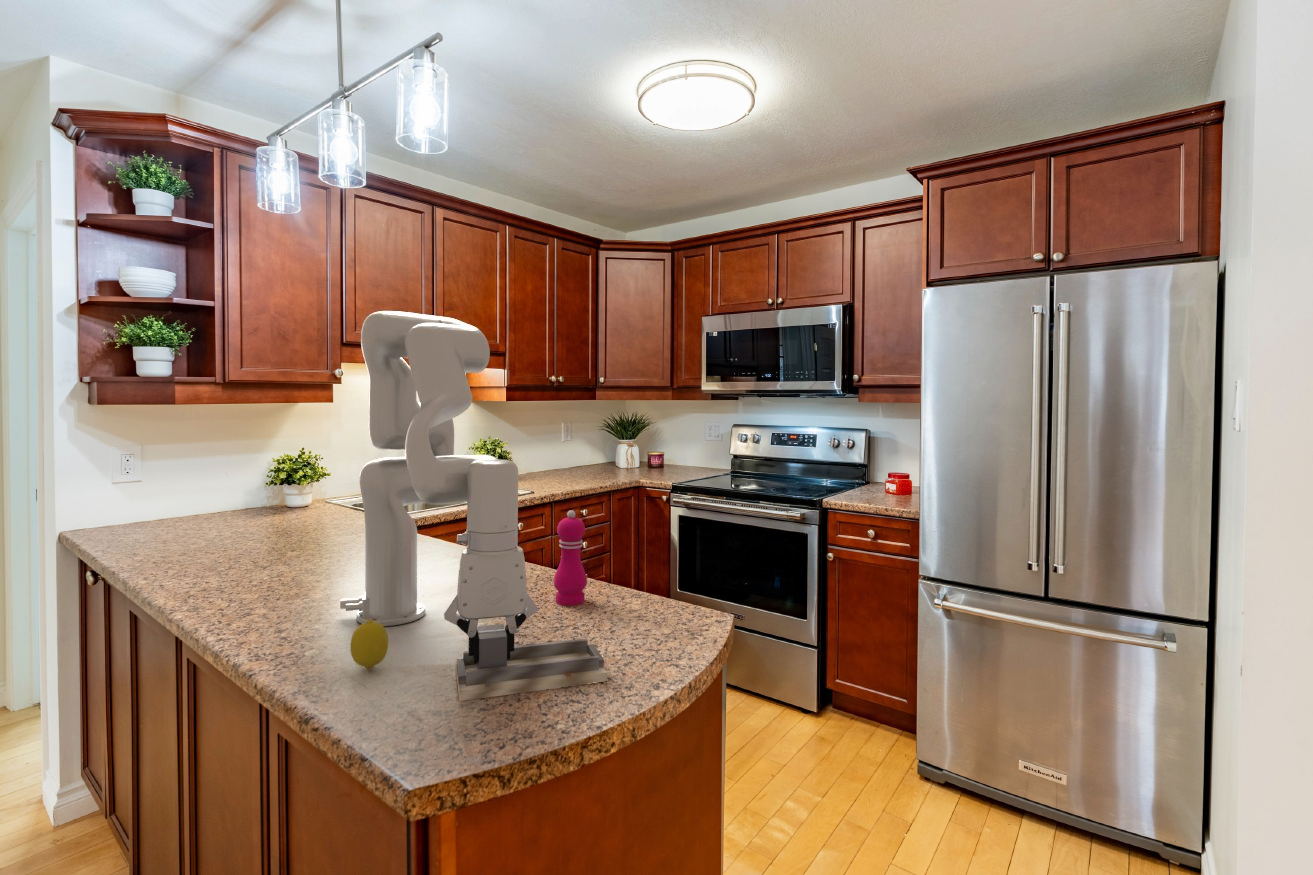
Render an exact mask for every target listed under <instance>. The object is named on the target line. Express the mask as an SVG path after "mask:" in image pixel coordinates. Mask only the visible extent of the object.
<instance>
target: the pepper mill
mask: <svg viewBox="0 0 1313 875" xmlns="http://www.w3.org/2000/svg"><path fill="white" fill-rule="evenodd" d="M566 515H567V517H565V518H563V519H562V520H560V521H559V522H558V523H557V524H558V525H557V527H556V528H557V530H556V531H557V535H558V536H559V538H560V539H559V540H558V542H559V547H560V548H561V552H560V553H561V554H560V555H561V556H560V562H559V565H558V567H557V569H556V571H555V574H554V577H553V587H554V588H555V589H556V593H555V603H556V604H557V605H560V606H564V607H565V606H567V607H568V606H569V607H571V606H578V605H579V606H580V605H582V604H584V602H585V601H586V600H585V597H586V596H585V595H586V594H585V592H584V591H583V590H584V589H585V588H586V587H587V584H588V578H587V577H588V576H587V574H586V571H585V569H584V565H583V563H582V559H581V549H582V547H583V545H584V544H583V538H582V537H583V536H584V535H585V534H586V533H585V532H586V527H585V523H584V521H583V520H582V519H580V518H578V517H576V512H575V511H574V510H573V509H572V510H568V511H567V512H566Z"/></svg>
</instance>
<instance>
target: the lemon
mask: <svg viewBox="0 0 1313 875" xmlns="http://www.w3.org/2000/svg"><path fill="white" fill-rule="evenodd" d="M349 646H350V647H349V648H350V656H351V658H352V659H353V661H354V663H356V664H357V665H359V666H361V667H364V668H366V670H368V671H369V670H372V669H374V667H375V666H376V665H378V664H379V663H381V662H382V661H383V660H384V659H385V657H386V656H387V653H388V649H389V636H388V631H387V629H386V628H385V626H382V625H381V624H379V623H377V622H374V621H372V620H368V621H367V622H365V623H363V624H361V623H360V625H359V626H358V627H356V628H355V630H354V631H353V633H352V637H351V640H350V645H349Z"/></svg>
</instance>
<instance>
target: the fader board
mask: <svg viewBox="0 0 1313 875" xmlns="http://www.w3.org/2000/svg"><path fill="white" fill-rule="evenodd" d="M588 643H589V640H588V638H581V639H580V638H579V639H571V640H562V641H561V640H559V641H552V642H541V643H532V644H523V645H521V644H520V645H514V651H513V652H510V659H508V660H507V666H502V667H493V668H484V669H477V664H476V663H474V660H473V656H469V652H468V650H465V651H462V658H457V659H456V661H455V671H456V672H455V673H456V680H457V681H456V684H457V691H458V692H457V693H458V700H459V702H462V701H463V702H464V701H471V700H479V699H484V698H493V697H500V696H501V697H502V696H507V695H509V696H510V695H516V694H524V693H531V692H539V691H547V690H546V689H549V690H555V689H561V687H564V688H569V687H568V686H572V687H576V686H575V685H579V686H583V685H582V684H587V685H589V684H588V683H593V682H601V681H606V680H607V681H608V671H607V669H606V668H605V659H604V657H603V656H602V654H601V653H600V652H599V650H598V649H597V648H596V646H595V644H588Z"/></svg>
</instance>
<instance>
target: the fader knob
mask: <svg viewBox="0 0 1313 875" xmlns="http://www.w3.org/2000/svg"><path fill="white" fill-rule="evenodd" d="M477 632H478V636H479V662H478V663H476V664H477V669H484V668H493V667H502V666H507V635H506V632H505V627H504V624H503V623H501V624H500V623H499V624H490V625H489V624H488V625H477Z"/></svg>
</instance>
